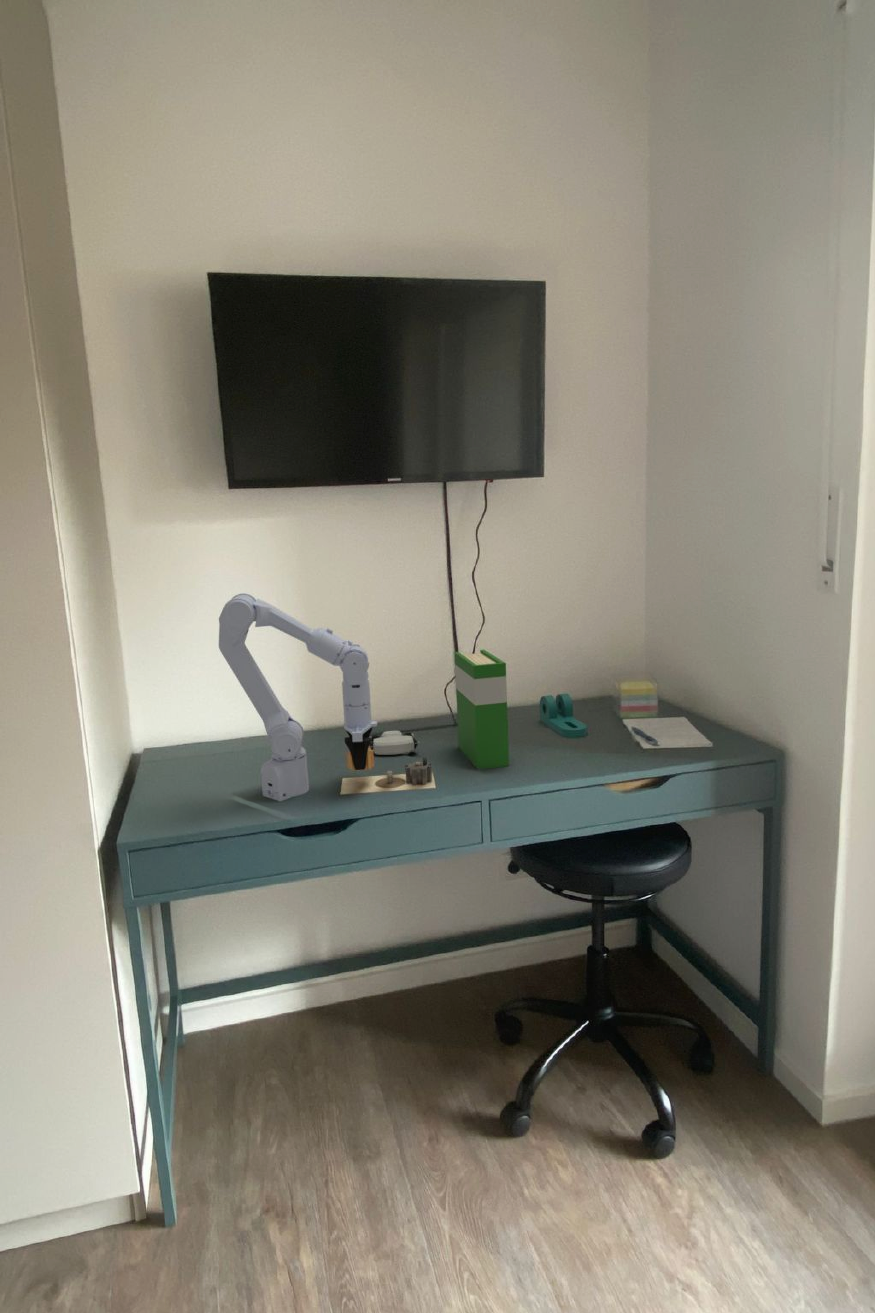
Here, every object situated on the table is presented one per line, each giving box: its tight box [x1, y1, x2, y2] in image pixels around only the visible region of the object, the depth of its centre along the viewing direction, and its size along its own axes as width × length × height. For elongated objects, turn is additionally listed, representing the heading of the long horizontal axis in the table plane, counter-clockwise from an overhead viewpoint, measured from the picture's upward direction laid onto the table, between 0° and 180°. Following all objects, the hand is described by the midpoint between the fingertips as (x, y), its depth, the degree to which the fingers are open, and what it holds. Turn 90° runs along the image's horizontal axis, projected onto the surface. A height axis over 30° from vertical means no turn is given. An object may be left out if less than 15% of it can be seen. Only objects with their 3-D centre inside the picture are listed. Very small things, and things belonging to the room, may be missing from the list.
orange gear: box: [345, 748, 375, 772], centre depth 175 cm, size 6×6×4 cm
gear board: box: [340, 756, 437, 795], centre depth 176 cm, size 20×10×6 cm, turn 94°
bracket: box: [539, 693, 588, 739], centre depth 213 cm, size 18×7×8 cm, turn 14°
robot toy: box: [369, 730, 420, 756], centre depth 201 cm, size 12×4×15 cm
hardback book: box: [454, 649, 510, 771], centre depth 192 cm, size 18×7×24 cm, turn 13°
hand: (360, 764), depth 175 cm, fingers closed on orange gear, 6 cm apart
